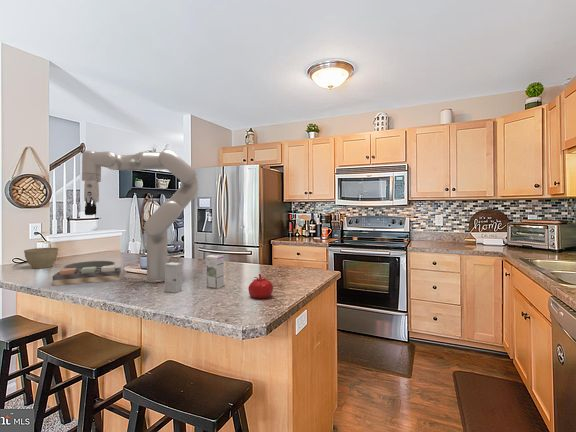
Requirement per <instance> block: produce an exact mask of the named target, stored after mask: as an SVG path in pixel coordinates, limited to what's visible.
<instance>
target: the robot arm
mask: <svg viewBox="0 0 576 432" xmlns="http://www.w3.org/2000/svg"><path fill="white" fill-rule="evenodd" d="M81 158H82V159H81V181H82V182H84V185H83V187H84V188H83V189H84V190H83V199H84V202H85V205H84V215H85V216H93V215H97V203H99V201H100V191H99V190H100V185H99V183H101V181H102V167H103V168H107V169H109V170H111V171H112V170H113V171H134V170H135V171H138V170H139V171H141V170H143V171H144V170H145V171H146V170H166V171H168V172H169V173H170V174H172V175H173V176H174V177H175V178H177V179H178V180H179V181H180V186H179V187H178V189H177V190H176V191H175V192H174V193H173V195H171V197H170V198H169V199H167V200H165V201H164V202H162V204H161V205H160V206H159V207H158V208H157V209H156V210H155V211H154V212H153V213H152V214H151V215H150V217H148V219H147V220H146V221H145V223H144V226H143V229H144V232H145V234H146V277H144V278H143V282H144V283H153V284H154V283H162V282H164V283H165V264H167V263H168V229H169V228H170V227H171V226H172V225H173V224H174V222H175V221H176V220H177V219H178V218H179V217H180V215H182V213H183V211H184V210H185V209H186V207H188V205H189V204H190V203H191V202H192V200H193V199H194V197H196V195H197V192H198V188H199V183H198V178H197V172H196V170H195V169H194V168H193V167H192V166H191V165H190V164H189V163H188V162H186V161H185V160H184V159H182V157H180V156H179V155H178V154H177V153H176V152H174V151H173V150H170V149H164V150H162V151H140V152H137V153H135V154H126V155H125V154H116V153H114V152H112V151H94V150H84V151H82V154H81Z"/></svg>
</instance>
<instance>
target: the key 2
mask: <svg viewBox="0 0 576 432" xmlns="http://www.w3.org/2000/svg"><path fill="white" fill-rule="evenodd" d="M115 268H116V264H114V265H112V266H103V267H102V268H101V272H108V271H115Z"/></svg>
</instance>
